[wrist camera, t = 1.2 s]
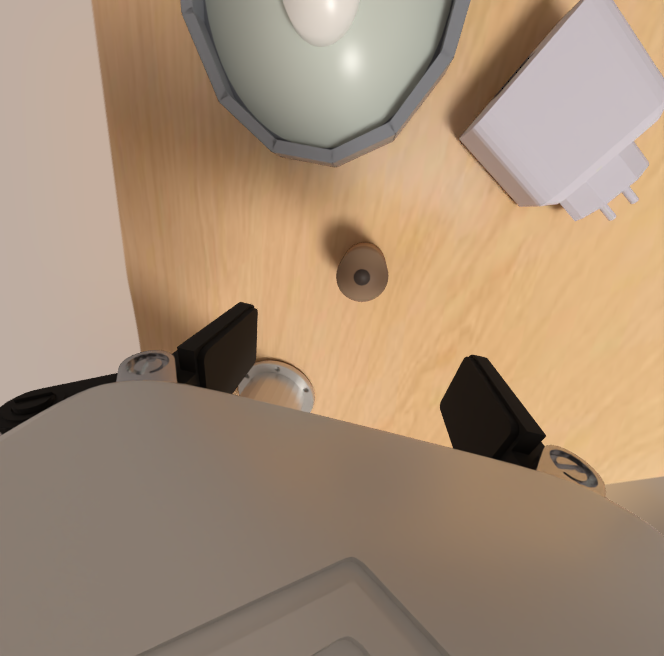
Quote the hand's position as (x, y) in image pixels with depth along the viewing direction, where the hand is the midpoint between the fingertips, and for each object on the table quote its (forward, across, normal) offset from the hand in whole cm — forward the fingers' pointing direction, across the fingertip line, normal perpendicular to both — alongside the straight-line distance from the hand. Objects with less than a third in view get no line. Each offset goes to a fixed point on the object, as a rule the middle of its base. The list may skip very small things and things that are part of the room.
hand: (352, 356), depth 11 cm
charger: (+21, -14, -13) cm, 28 cm away
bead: (+20, 0, 0) cm, 20 cm away
